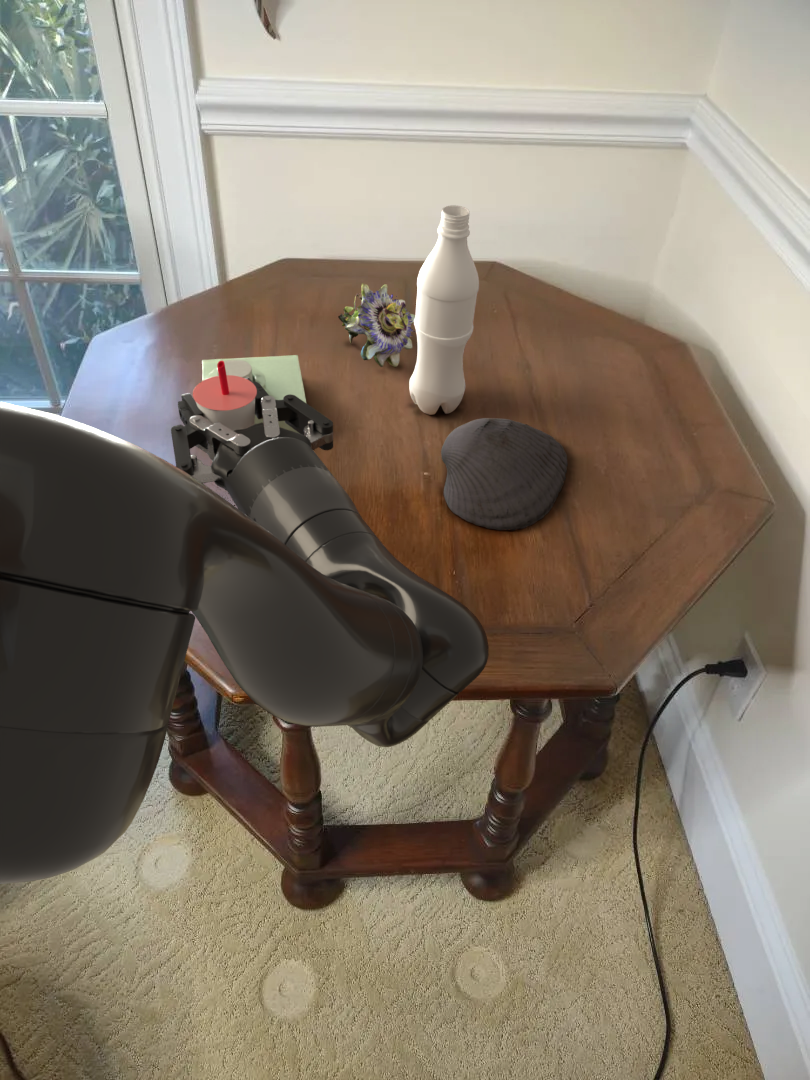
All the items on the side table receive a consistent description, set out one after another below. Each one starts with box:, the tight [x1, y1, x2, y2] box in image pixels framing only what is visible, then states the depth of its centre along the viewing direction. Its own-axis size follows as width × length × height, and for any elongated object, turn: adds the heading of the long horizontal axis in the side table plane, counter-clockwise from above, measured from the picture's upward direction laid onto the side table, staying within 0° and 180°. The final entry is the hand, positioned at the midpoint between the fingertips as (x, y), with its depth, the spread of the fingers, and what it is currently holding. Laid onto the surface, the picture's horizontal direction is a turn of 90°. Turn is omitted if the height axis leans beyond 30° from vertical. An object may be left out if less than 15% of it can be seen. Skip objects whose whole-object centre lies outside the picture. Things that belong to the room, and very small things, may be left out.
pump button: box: [217, 360, 253, 382], centre depth 90 cm, size 4×4×2 cm
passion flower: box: [338, 283, 416, 368], centre depth 105 cm, size 11×11×12 cm
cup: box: [192, 361, 257, 463], centre depth 68 cm, size 5×5×12 cm
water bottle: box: [408, 204, 480, 415], centre depth 91 cm, size 7×7×25 cm
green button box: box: [201, 354, 307, 434], centre depth 94 cm, size 12×12×6 cm
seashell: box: [440, 417, 568, 531], centre depth 88 cm, size 14×19×8 cm
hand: (216, 395), depth 69 cm, fingers closed on cup, 5 cm apart
